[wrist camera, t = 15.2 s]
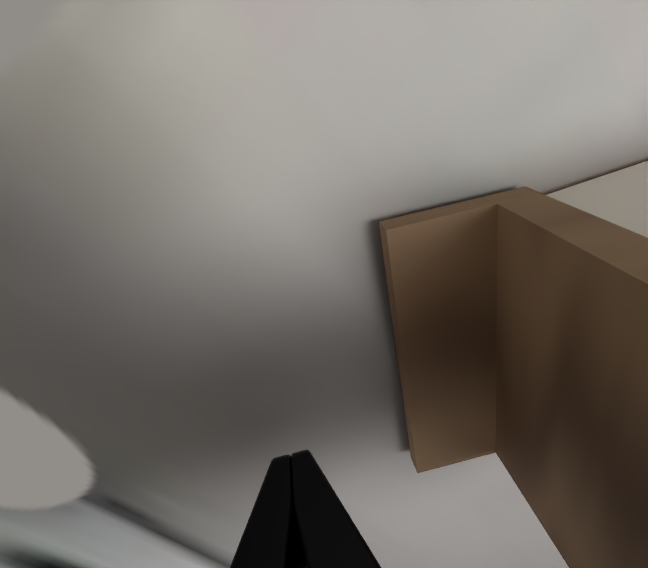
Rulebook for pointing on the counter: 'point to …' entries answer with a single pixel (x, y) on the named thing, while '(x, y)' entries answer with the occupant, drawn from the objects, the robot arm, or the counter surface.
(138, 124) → the counter surface
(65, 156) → the counter surface
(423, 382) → the bracket
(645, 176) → the rust book
